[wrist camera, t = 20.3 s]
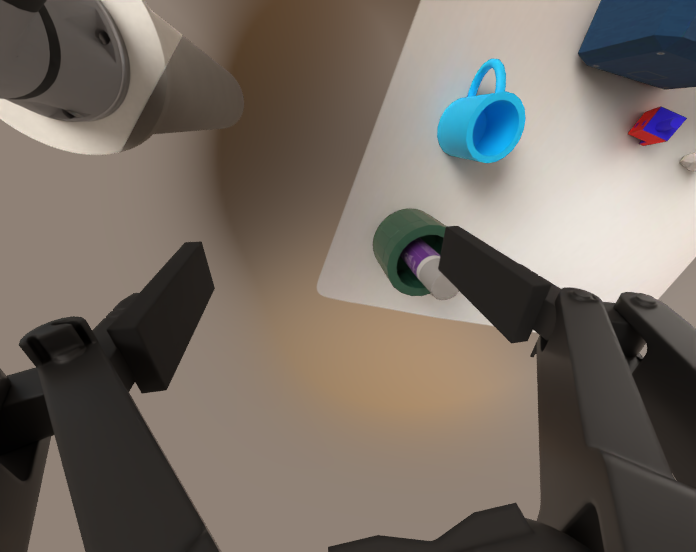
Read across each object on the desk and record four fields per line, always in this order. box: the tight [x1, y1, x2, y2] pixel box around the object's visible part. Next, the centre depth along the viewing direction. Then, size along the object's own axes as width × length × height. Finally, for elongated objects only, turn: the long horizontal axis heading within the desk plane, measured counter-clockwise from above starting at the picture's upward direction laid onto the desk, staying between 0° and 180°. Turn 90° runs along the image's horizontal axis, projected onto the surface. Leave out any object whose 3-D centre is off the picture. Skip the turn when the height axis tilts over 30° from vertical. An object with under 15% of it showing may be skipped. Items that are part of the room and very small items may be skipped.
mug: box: [437, 59, 525, 163], centre depth 38 cm, size 12×8×8 cm
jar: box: [373, 209, 446, 296], centre depth 46 cm, size 12×12×9 cm
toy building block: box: [628, 107, 687, 146], centre depth 45 cm, size 4×4×8 cm
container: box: [400, 237, 459, 300], centre depth 43 cm, size 5×5×15 cm
